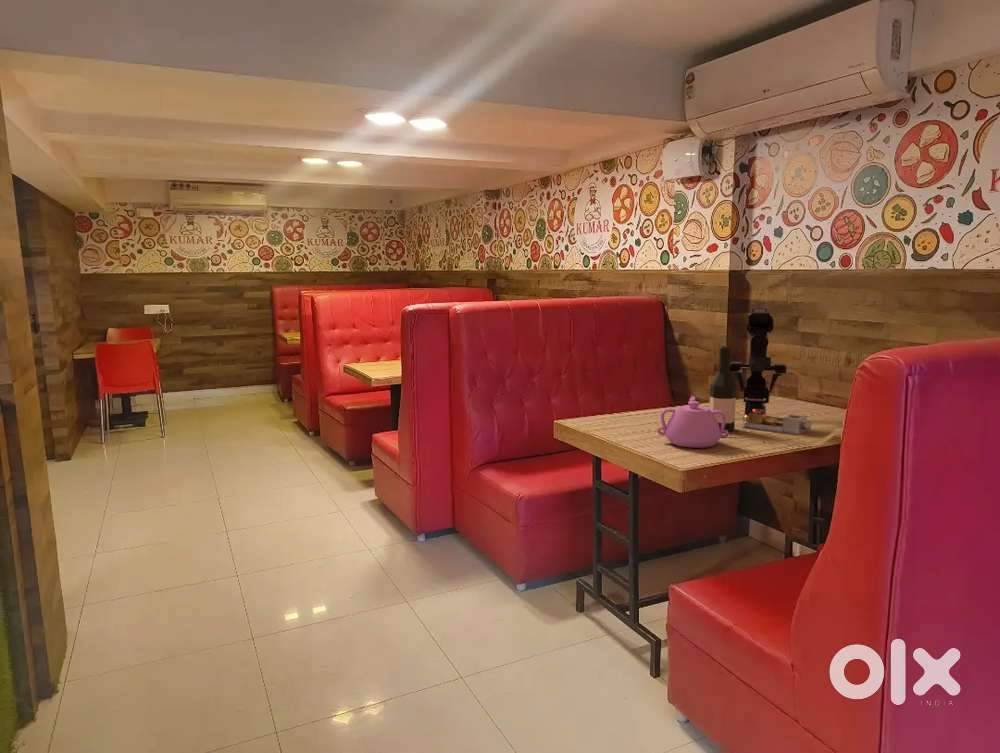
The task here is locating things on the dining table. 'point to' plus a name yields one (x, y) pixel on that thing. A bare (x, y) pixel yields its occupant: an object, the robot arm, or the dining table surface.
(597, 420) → the dining table surface
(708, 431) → the purple lidded pot
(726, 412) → the wine bottle
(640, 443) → the dining table surface
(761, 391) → the robot arm
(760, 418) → the valve
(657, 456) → the dining table surface
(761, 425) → the grey metal channel
